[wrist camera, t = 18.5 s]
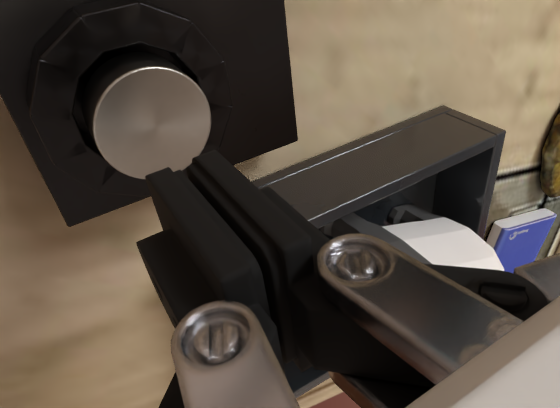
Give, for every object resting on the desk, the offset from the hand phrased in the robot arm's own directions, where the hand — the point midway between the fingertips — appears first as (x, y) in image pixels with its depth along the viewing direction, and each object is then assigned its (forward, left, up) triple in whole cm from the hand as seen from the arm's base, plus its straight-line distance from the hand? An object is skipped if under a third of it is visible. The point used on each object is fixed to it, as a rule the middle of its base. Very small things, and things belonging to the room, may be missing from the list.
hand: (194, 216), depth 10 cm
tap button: (+1, 0, -7) cm, 7 cm away
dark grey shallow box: (+11, -14, -11) cm, 21 cm away
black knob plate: (+2, 0, -11) cm, 11 cm away
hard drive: (+30, -28, -11) cm, 42 cm away
